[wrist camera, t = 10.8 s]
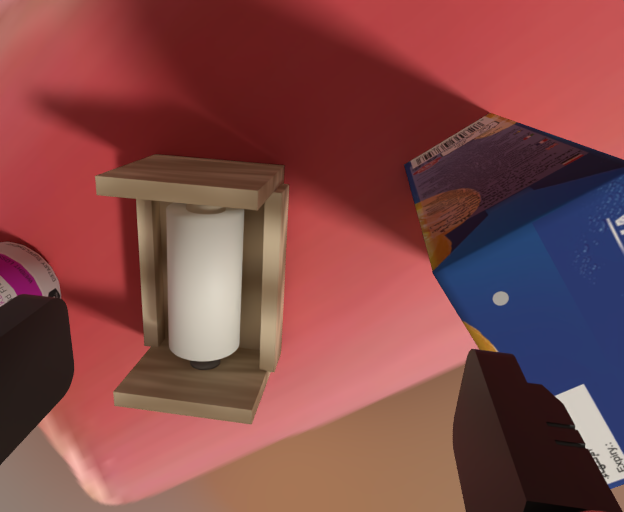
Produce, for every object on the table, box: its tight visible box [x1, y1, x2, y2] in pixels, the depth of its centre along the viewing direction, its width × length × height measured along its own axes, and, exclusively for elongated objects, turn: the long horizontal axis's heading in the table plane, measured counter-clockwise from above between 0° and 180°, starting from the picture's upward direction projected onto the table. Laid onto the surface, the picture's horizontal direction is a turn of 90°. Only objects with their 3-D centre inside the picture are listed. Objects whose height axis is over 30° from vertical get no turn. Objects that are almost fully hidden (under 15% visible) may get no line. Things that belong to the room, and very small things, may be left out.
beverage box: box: [404, 113, 624, 489], centre depth 27 cm, size 7×11×22 cm, turn 33°
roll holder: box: [95, 154, 289, 424], centre depth 38 cm, size 17×11×9 cm
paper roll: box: [166, 202, 244, 361], centre depth 39 cm, size 12×6×6 cm, turn 175°
